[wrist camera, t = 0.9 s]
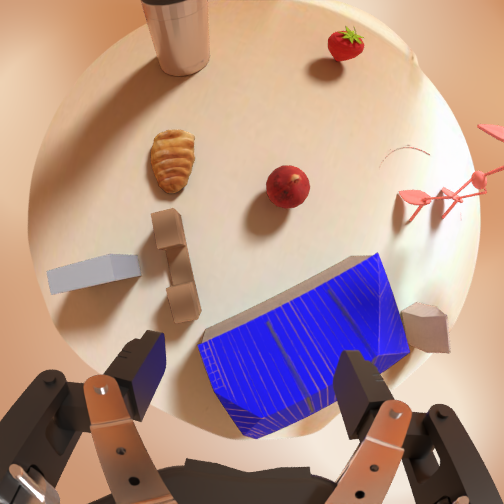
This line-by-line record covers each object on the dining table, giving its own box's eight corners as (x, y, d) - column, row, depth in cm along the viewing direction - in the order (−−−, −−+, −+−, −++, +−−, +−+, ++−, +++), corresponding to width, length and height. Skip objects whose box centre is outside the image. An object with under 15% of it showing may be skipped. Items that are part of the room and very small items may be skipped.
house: (251, 410, 38) (263, 474, 23) (203, 327, 38) (189, 370, 22) (382, 338, 41) (442, 367, 25) (351, 253, 40) (413, 250, 25)
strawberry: (313, 52, 41) (329, 19, 31) (343, 48, 41) (360, 19, 31) (329, 72, 41) (348, 40, 31) (358, 68, 41) (379, 40, 31)
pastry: (197, 192, 38) (194, 185, 34) (153, 197, 38) (145, 191, 34) (195, 135, 38) (192, 123, 35) (153, 140, 38) (147, 130, 34)
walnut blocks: (161, 219, 37) (150, 213, 32) (180, 214, 38) (173, 208, 32) (181, 314, 37) (174, 323, 32) (201, 310, 38) (197, 319, 32)
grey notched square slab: (86, 287, 36) (51, 294, 26) (82, 268, 36) (46, 271, 26) (141, 275, 37) (114, 280, 27) (137, 255, 37) (109, 253, 27)
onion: (285, 220, 39) (300, 211, 31) (254, 195, 39) (261, 180, 31) (308, 191, 40) (327, 176, 32) (278, 167, 39) (290, 146, 31)
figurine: (466, 220, 43) (600, 192, 8) (373, 229, 40) (581, 176, 6) (451, 151, 43) (567, 91, 8) (355, 141, 41) (496, 10, 6)
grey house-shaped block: (407, 343, 41) (441, 359, 31) (401, 311, 41) (438, 321, 31) (421, 334, 41) (456, 347, 31) (415, 302, 41) (453, 310, 31)
